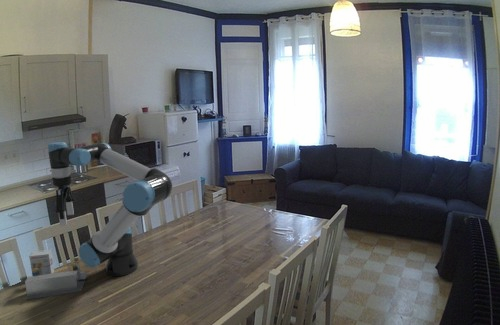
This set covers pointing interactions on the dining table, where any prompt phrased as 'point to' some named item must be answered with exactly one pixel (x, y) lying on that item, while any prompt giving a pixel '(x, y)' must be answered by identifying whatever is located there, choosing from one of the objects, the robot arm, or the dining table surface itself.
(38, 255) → the ink box
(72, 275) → the rail
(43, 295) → the mat
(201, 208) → the dining table surface
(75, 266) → the stand
